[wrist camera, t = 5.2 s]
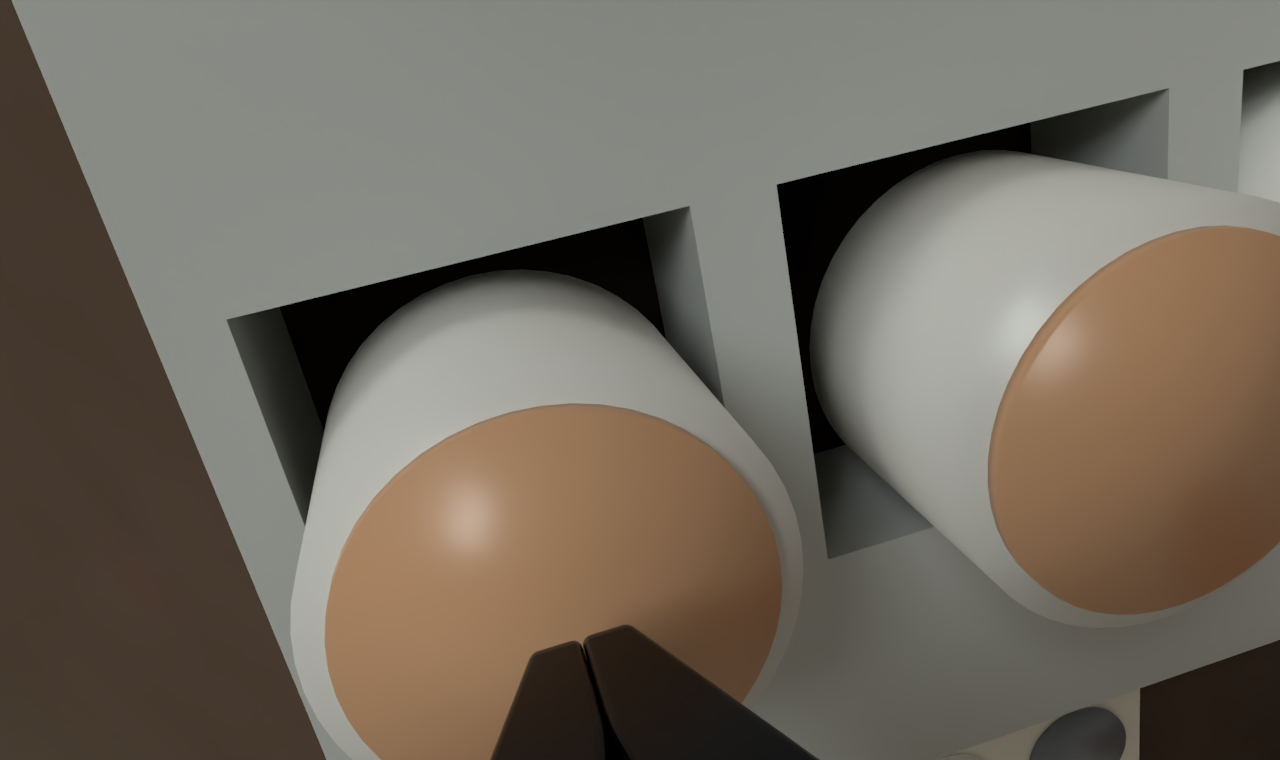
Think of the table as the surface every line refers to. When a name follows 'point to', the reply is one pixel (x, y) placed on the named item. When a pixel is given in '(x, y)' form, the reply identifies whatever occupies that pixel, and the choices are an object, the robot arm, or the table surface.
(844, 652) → the board
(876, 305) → the button mid
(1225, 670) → the table surface
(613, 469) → the button
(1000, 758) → the card
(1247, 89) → the button
